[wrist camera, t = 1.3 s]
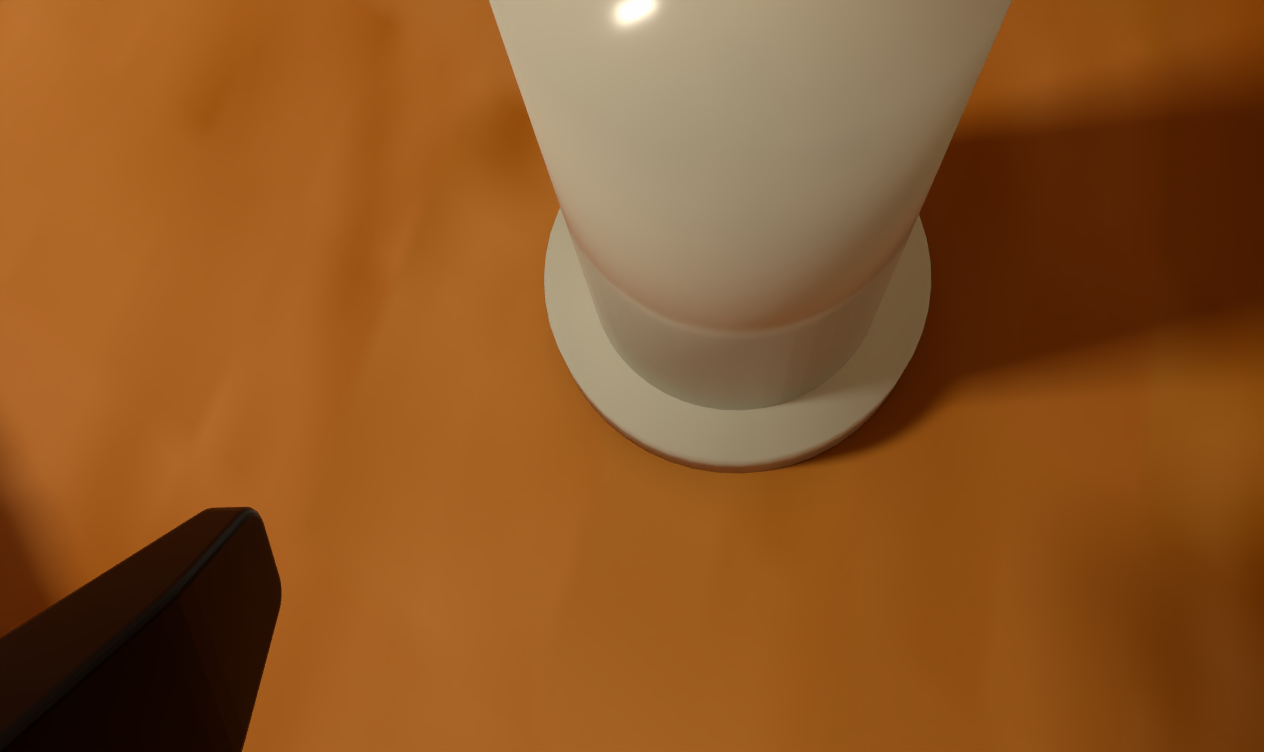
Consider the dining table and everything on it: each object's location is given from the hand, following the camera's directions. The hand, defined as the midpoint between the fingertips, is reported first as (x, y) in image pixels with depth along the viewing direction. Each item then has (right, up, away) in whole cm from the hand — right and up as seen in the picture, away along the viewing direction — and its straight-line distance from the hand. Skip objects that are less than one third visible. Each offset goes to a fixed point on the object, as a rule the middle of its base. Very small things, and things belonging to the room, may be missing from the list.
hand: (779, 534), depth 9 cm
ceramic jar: (+1, +3, +14) cm, 15 cm away
